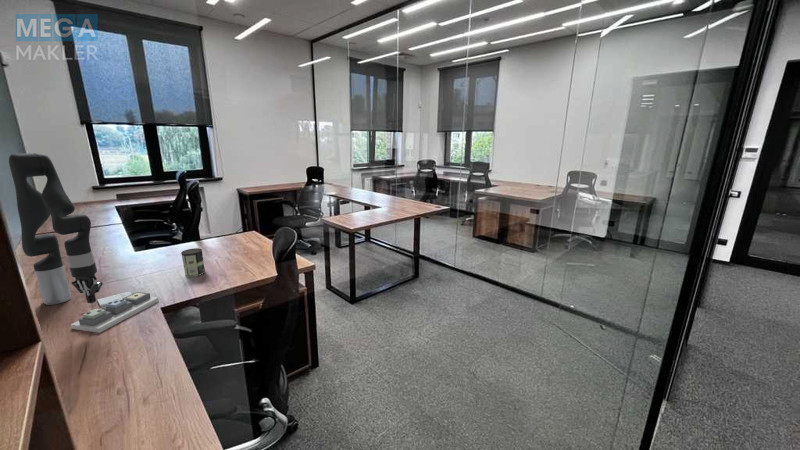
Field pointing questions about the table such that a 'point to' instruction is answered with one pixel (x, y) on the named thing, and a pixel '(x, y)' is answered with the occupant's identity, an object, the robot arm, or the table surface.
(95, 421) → the table surface
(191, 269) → the coffee can
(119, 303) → the button three
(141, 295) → the button one
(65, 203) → the robot arm
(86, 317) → the button two
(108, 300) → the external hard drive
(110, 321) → the button panel
